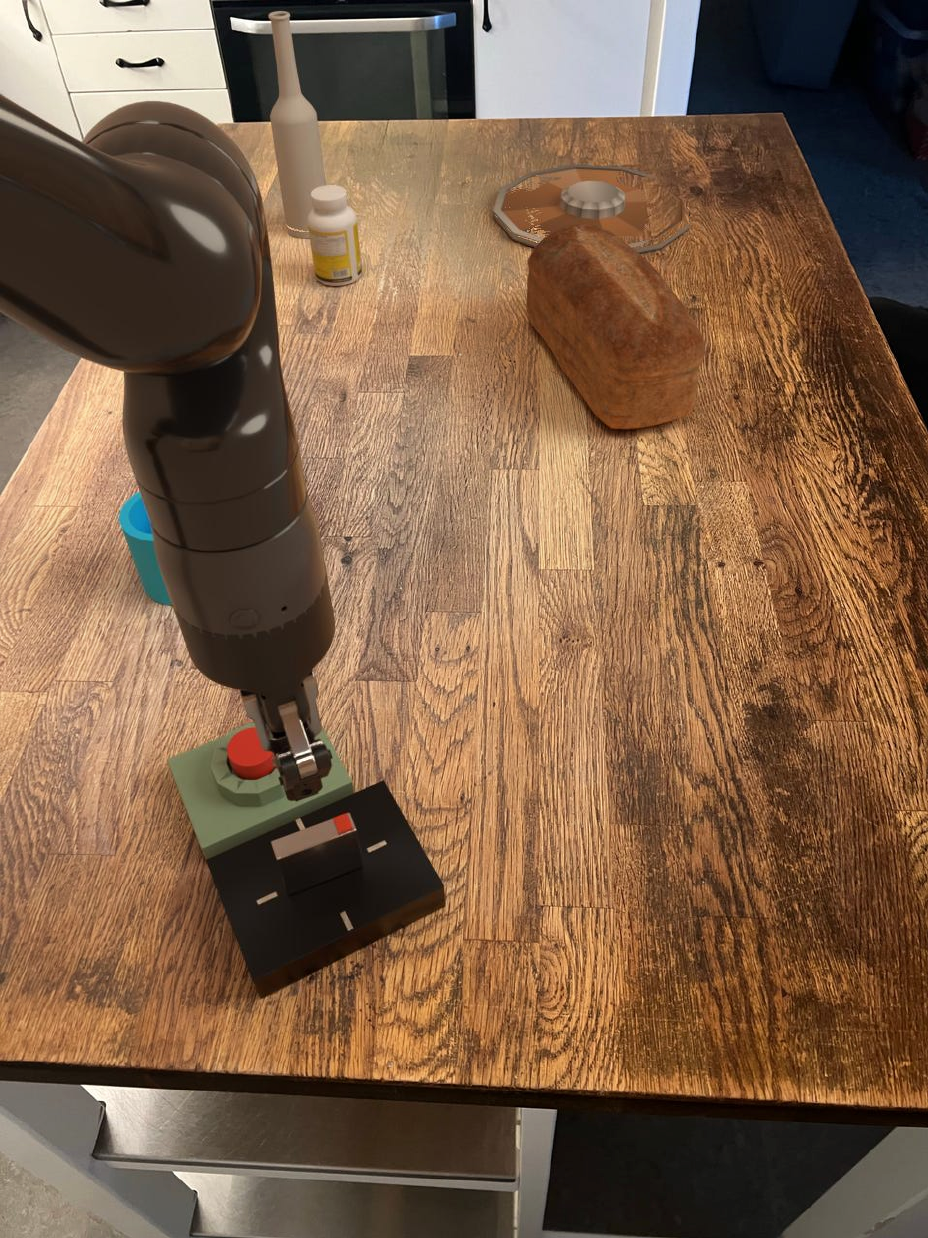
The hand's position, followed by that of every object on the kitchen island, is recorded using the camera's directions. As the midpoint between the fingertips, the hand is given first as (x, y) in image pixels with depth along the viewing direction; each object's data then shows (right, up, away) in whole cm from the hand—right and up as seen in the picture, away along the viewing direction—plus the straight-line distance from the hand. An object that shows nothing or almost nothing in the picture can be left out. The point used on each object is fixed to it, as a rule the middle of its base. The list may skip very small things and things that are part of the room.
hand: (298, 776), depth 59 cm
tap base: (0, -10, +11) cm, 15 cm away
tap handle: (0, -8, +9) cm, 12 cm away
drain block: (-6, -4, +17) cm, 19 cm away
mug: (-15, +13, +34) cm, 39 cm away
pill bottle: (-7, +57, +74) cm, 94 cm away
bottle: (-13, +68, +85) cm, 109 cm away
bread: (+27, +40, +58) cm, 75 cm away
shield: (+29, +71, +87) cm, 116 cm away
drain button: (-6, -1, +15) cm, 16 cm away
